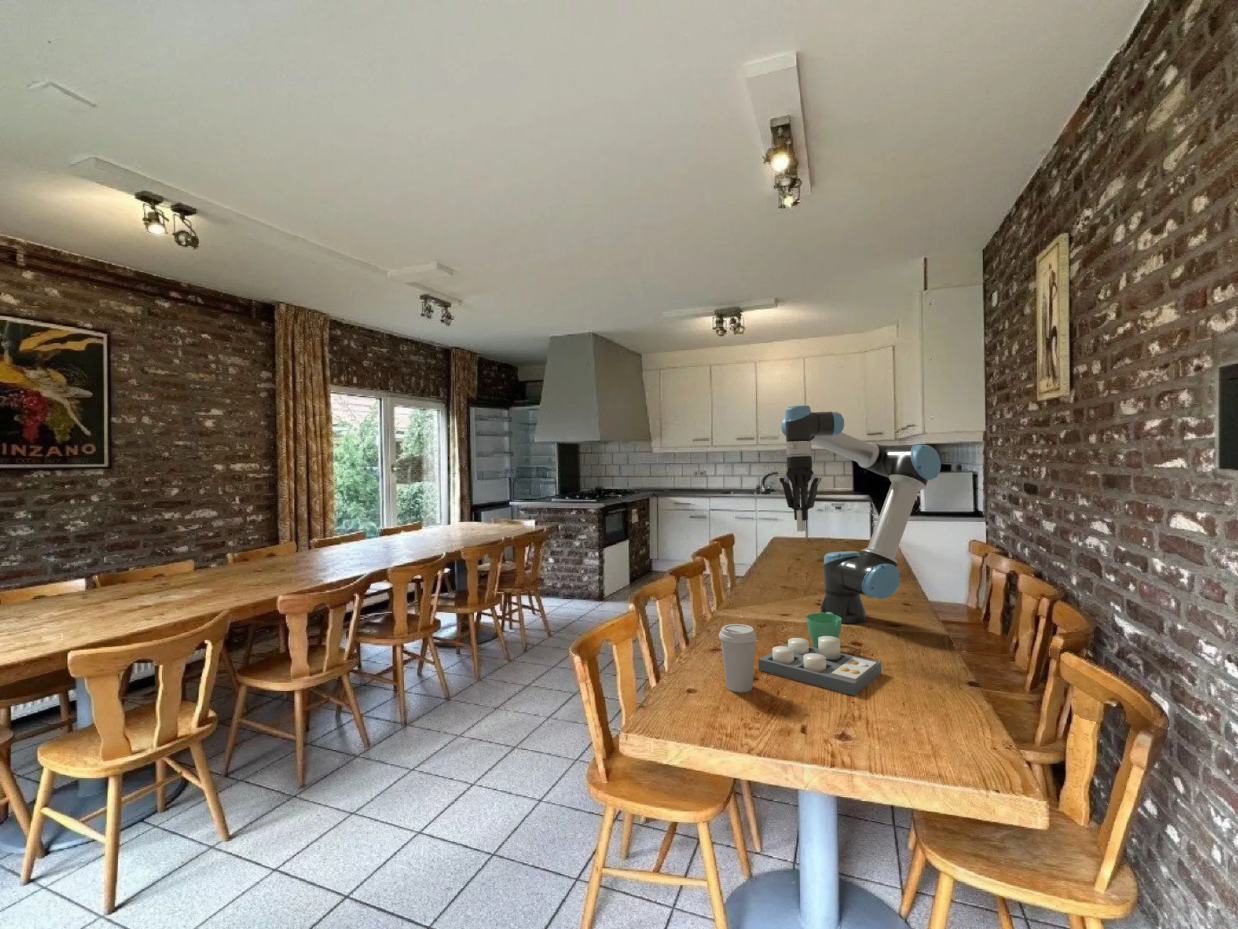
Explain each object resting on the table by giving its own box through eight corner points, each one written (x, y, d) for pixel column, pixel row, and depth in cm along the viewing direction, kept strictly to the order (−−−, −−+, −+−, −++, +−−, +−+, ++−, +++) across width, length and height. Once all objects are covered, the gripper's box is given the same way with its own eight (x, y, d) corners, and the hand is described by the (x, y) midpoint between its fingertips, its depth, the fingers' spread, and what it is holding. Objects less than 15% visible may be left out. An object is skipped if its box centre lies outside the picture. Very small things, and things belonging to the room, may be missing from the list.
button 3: (809, 668, 153) (809, 651, 153) (830, 673, 150) (829, 656, 150) (800, 674, 149) (799, 657, 149) (820, 680, 146) (820, 662, 145)
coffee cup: (713, 684, 148) (711, 626, 147) (743, 677, 152) (742, 621, 151) (734, 698, 139) (732, 636, 139) (766, 690, 143) (764, 630, 142)
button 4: (824, 650, 160) (823, 634, 160) (843, 655, 156) (843, 638, 156) (815, 656, 156) (814, 639, 156) (835, 660, 152) (834, 644, 152)
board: (790, 652, 169) (789, 639, 169) (881, 673, 151) (881, 659, 151) (758, 670, 156) (758, 657, 156) (854, 695, 138) (854, 681, 138)
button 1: (779, 660, 160) (778, 644, 160) (797, 665, 156) (797, 649, 156) (769, 666, 156) (768, 650, 156) (788, 671, 152) (787, 654, 152)
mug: (839, 659, 162) (838, 624, 162) (803, 654, 167) (802, 620, 167) (847, 643, 174) (846, 611, 174) (814, 639, 179) (813, 607, 179)
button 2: (794, 651, 166) (793, 636, 166) (812, 656, 162) (812, 640, 162) (784, 657, 162) (784, 641, 162) (803, 661, 158) (803, 645, 158)
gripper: (774, 456, 180) (776, 530, 181) (813, 455, 171) (816, 533, 172) (785, 455, 185) (787, 528, 186) (824, 454, 177) (826, 530, 177)
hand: (801, 530), depth 179 cm, fingers closed
